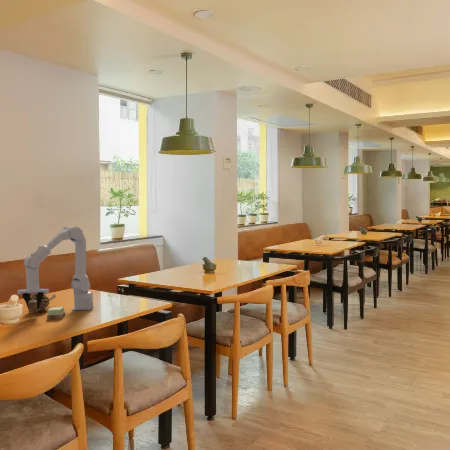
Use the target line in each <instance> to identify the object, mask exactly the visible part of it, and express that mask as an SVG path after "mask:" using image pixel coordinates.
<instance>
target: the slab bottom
mask: <svg viewBox="0 0 450 450" xmlns="http://www.w3.org/2000/svg"><path fill="white" fill-rule="evenodd" d="M65 317H66V311H64V312H63V313H62V314H61V315H48V314H47V315H46V320H47V321H51V320H63V319H64V318H65Z"/></svg>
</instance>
